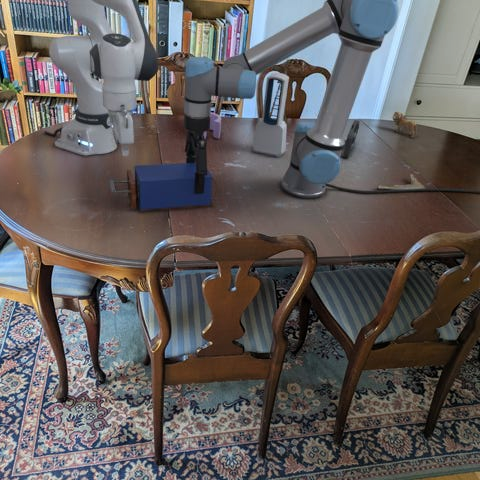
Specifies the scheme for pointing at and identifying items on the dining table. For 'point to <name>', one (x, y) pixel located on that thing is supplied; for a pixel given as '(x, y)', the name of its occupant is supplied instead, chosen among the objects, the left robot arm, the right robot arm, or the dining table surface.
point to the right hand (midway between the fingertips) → (194, 184)
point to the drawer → (131, 188)
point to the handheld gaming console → (351, 139)
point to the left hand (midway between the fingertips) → (122, 148)
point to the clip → (214, 125)
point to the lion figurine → (404, 123)
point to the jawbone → (414, 185)
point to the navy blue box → (170, 187)
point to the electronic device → (272, 121)
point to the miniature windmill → (278, 68)
